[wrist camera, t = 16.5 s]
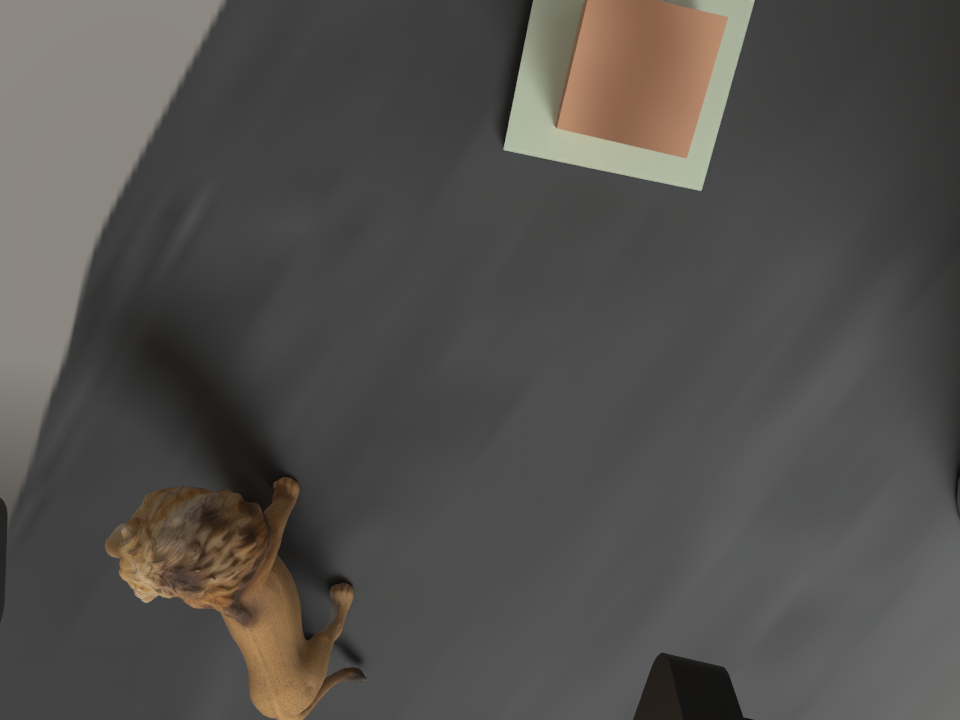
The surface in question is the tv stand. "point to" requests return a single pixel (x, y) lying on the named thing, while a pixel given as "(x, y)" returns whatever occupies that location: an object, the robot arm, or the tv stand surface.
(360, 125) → the tv stand surface
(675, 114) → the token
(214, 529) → the lion figurine
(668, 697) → the robot arm
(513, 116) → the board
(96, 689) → the tv stand surface
